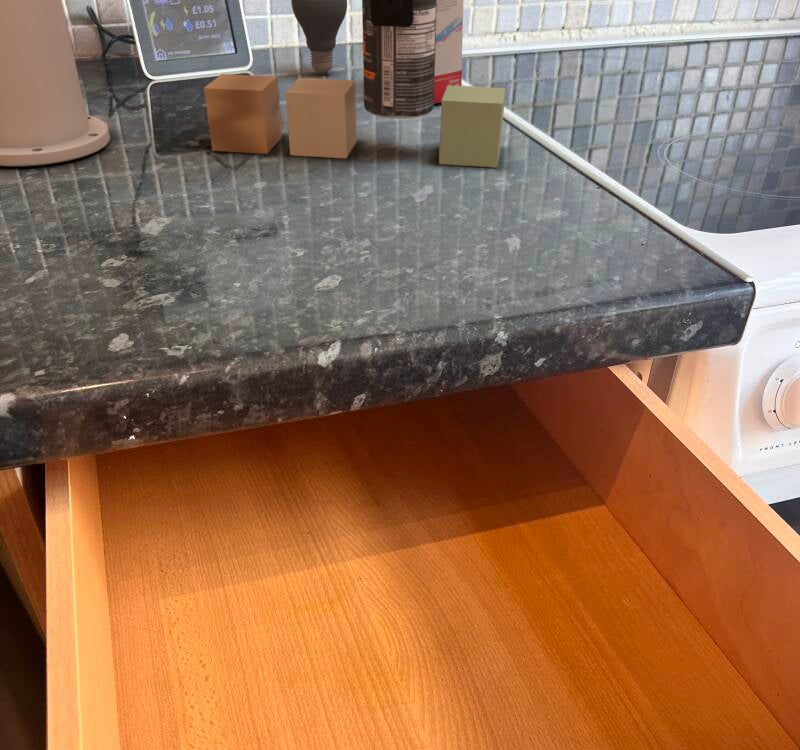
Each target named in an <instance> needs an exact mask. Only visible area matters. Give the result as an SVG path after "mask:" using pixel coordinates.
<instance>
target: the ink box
mask: <svg viewBox="0 0 800 750" xmlns="http://www.w3.org/2000/svg"><path fill="white" fill-rule="evenodd" d="M436 9H437V12H436V45H435V76H434V78H435V80H434V103H433V105H435V104H438V103H441V101H442V98H443V96H444V93H445V91H446V88H447V86H448V85H453V86H462V79H463V78H462V77H463V36H464V35H463V34H464V33H463V32H464V30H463V28H464V0H437V8H436Z"/></svg>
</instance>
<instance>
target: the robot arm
mask: <svg viewBox="0 0 800 750" xmlns="http://www.w3.org/2000/svg"><path fill="white" fill-rule="evenodd" d="M413 20H414V0H371V22H372V24H373V25H375V26H392V27H410V26H411V25H412V23H413ZM73 50H74V49H73V45H72V41H71V36H70V33H69V28H68V23H67V19H66V15H65V10H64V5H63V0H0V167H34V166H44V165H53V164H58V163H63V162H69V161H73V160H78V159H81V158H84V157H87V156H90V155H93V154H95V153H96V152H99V151H100V150H102V149H103V148H105V147H106V146H107V145H108V144H109V143H110V140H111V136H110V130H109V126H108V125H107V123H106V122H105V121H103V120H102V119H100V118H98V117H95V116H92V115H88V114H87V109H86V105H85V99H84V95H83V91H82V86H81V82H80V77H79V72H78V69H77V64H76V60H75V54H74V51H73Z"/></svg>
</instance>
